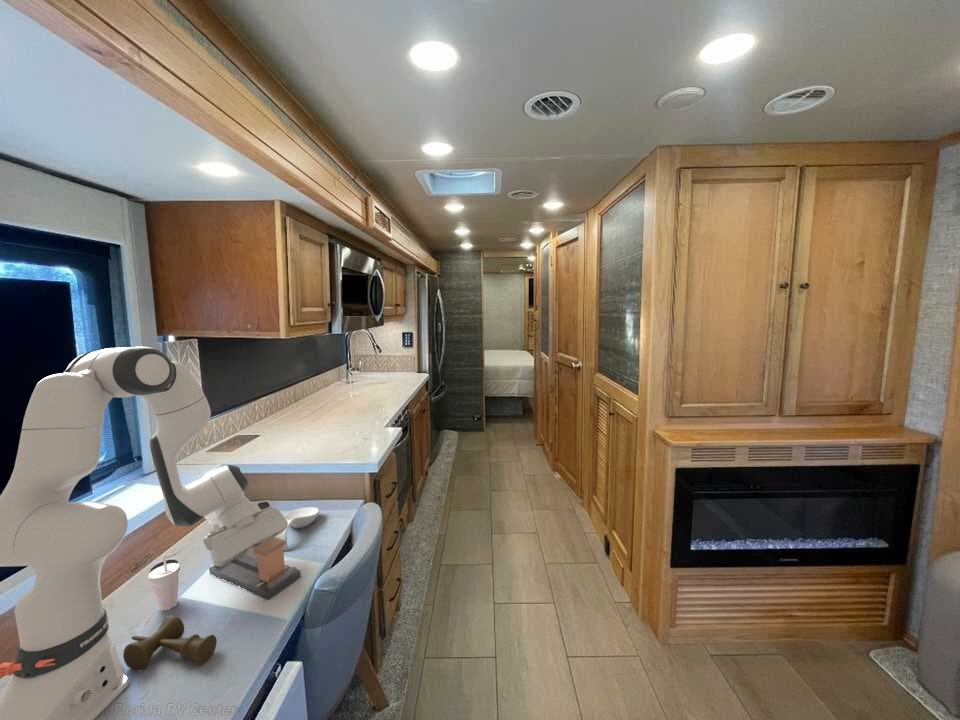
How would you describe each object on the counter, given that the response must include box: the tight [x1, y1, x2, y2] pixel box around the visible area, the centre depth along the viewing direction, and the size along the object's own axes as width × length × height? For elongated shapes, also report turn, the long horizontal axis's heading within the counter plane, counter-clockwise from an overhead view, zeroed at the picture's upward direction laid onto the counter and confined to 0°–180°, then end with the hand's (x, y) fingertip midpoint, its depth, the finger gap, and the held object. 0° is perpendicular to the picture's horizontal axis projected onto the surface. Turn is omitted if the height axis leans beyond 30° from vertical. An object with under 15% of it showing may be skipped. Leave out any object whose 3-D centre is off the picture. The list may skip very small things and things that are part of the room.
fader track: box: [208, 553, 302, 601], centre depth 112 cm, size 26×10×4 cm, turn 64°
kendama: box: [122, 615, 218, 671], centre depth 86 cm, size 6×10×20 cm
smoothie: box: [148, 553, 181, 611], centre depth 101 cm, size 6×6×14 cm
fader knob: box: [253, 537, 286, 583], centre depth 108 cm, size 5×6×9 cm
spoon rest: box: [275, 506, 320, 552], centre depth 135 cm, size 24×12×7 cm, turn 4°
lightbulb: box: [203, 511, 221, 532], centre depth 137 cm, size 6×6×11 cm
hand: (264, 559), depth 109 cm, fingers closed, pressing on fader knob
